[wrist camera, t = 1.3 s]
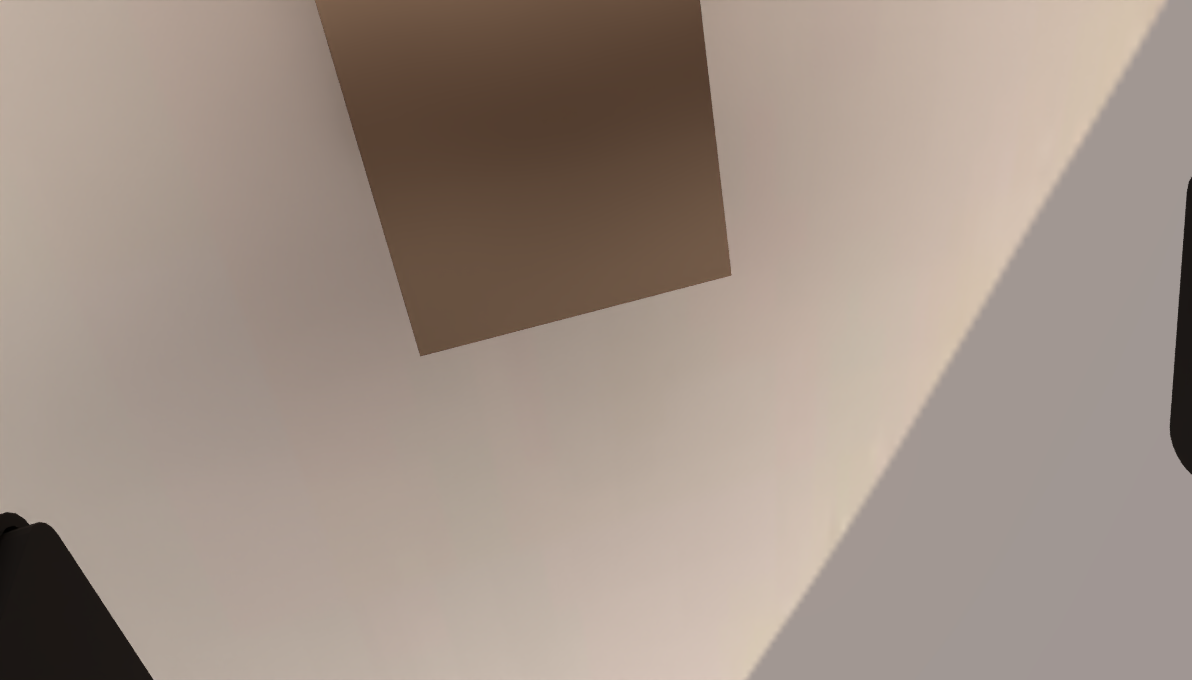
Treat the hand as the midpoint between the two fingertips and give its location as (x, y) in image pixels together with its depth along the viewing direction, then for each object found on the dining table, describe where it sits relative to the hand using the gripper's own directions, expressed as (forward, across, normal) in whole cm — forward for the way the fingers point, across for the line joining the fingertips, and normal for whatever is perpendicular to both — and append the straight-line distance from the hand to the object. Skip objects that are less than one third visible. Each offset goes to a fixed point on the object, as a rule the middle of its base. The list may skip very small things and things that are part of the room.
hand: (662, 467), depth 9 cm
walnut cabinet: (+18, 0, +1) cm, 18 cm away
